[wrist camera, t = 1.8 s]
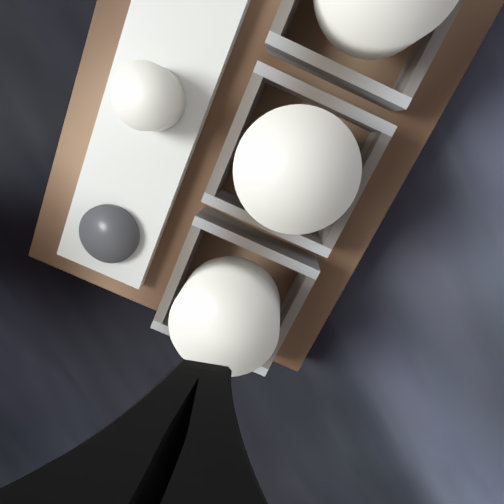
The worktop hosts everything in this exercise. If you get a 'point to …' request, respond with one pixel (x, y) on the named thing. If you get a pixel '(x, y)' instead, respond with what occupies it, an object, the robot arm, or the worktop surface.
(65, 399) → the worktop surface
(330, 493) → the worktop surface
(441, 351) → the worktop surface
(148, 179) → the strip
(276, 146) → the button mid
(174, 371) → the robot arm
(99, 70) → the console
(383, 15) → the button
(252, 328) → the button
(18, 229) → the worktop surface
